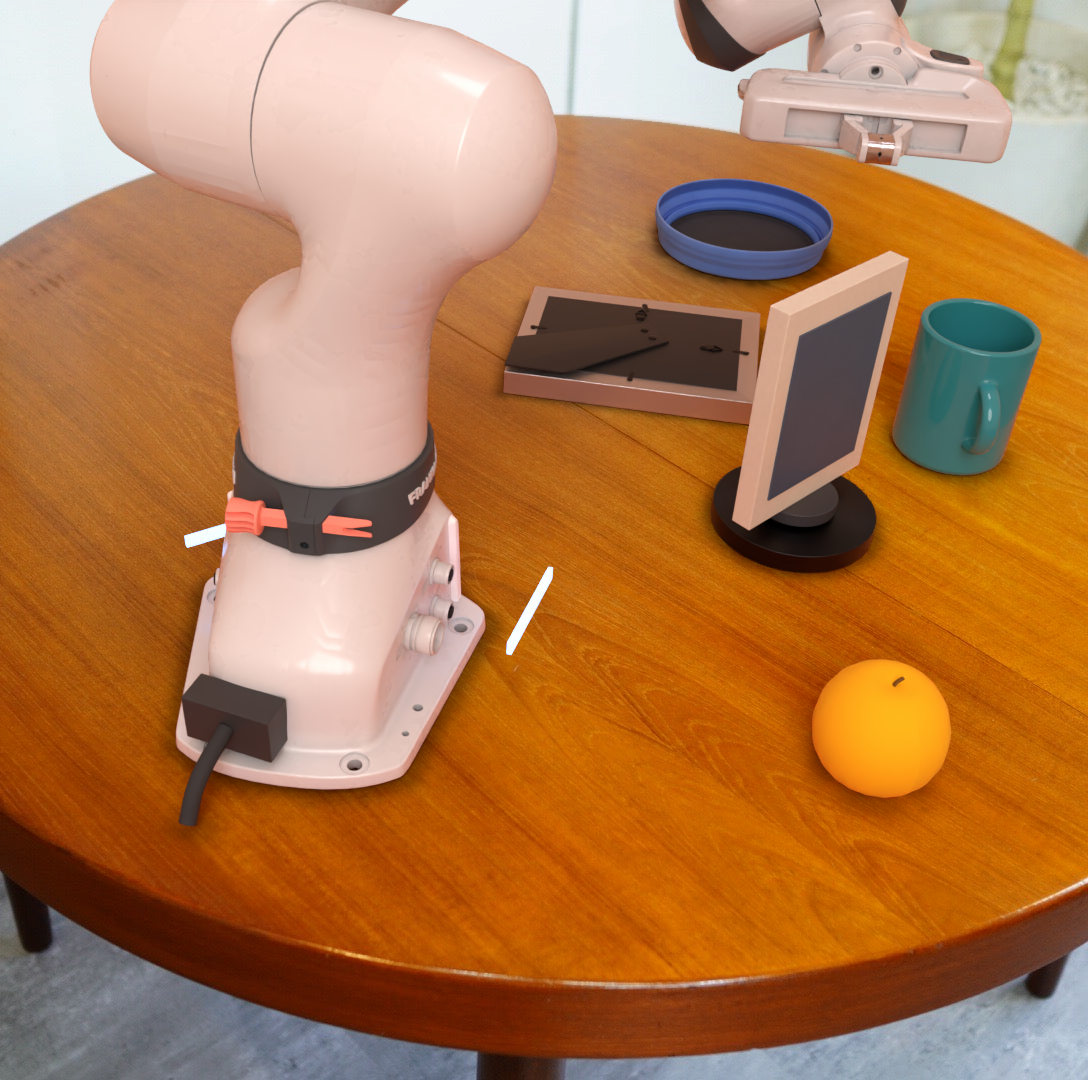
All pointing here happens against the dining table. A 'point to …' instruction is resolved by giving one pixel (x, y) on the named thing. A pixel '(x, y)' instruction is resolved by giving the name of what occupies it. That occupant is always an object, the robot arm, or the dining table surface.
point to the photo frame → (816, 393)
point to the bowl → (742, 228)
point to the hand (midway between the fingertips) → (879, 154)
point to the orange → (881, 728)
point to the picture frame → (636, 355)
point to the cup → (964, 385)
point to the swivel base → (798, 531)
